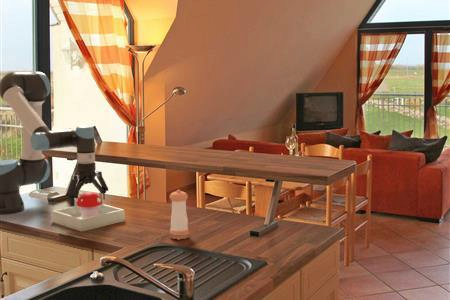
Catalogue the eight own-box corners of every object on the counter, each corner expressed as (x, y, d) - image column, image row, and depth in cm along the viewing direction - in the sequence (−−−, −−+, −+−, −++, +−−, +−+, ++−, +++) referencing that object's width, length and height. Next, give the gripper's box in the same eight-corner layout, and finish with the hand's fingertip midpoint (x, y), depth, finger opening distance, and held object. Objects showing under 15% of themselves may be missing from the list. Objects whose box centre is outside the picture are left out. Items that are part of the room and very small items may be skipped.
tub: (52, 222, 252) (52, 210, 251) (95, 212, 268) (94, 201, 267) (81, 231, 237) (80, 219, 236) (124, 220, 253) (124, 209, 252)
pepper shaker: (181, 241, 222) (180, 192, 220) (166, 238, 226) (165, 190, 223) (192, 236, 228) (191, 189, 226) (177, 234, 232) (176, 187, 229)
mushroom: (105, 215, 258) (104, 189, 256) (98, 222, 247) (97, 194, 245) (82, 215, 258) (80, 189, 257) (73, 221, 248) (72, 194, 246)
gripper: (65, 166, 237) (67, 217, 240) (115, 159, 255) (116, 206, 258) (55, 164, 242) (58, 214, 245) (105, 157, 260) (106, 203, 263)
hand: (88, 210), depth 252 cm, fingers open, 13 cm apart
